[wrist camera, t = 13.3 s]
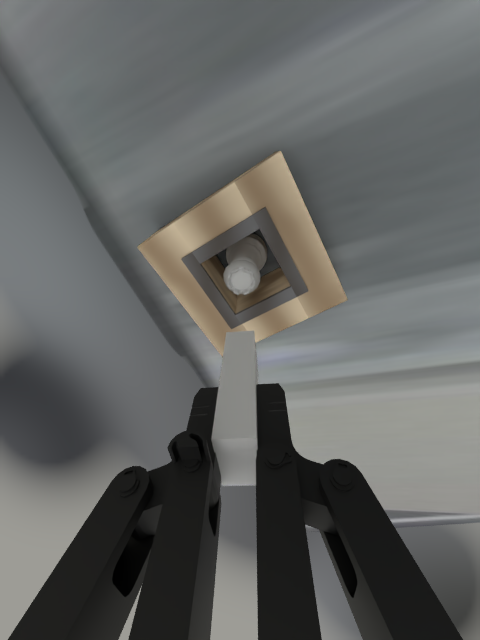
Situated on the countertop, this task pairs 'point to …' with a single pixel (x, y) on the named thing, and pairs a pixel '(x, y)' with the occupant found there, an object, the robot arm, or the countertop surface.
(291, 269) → the socket block
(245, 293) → the rook chess piece
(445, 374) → the countertop surface
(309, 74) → the countertop surface
